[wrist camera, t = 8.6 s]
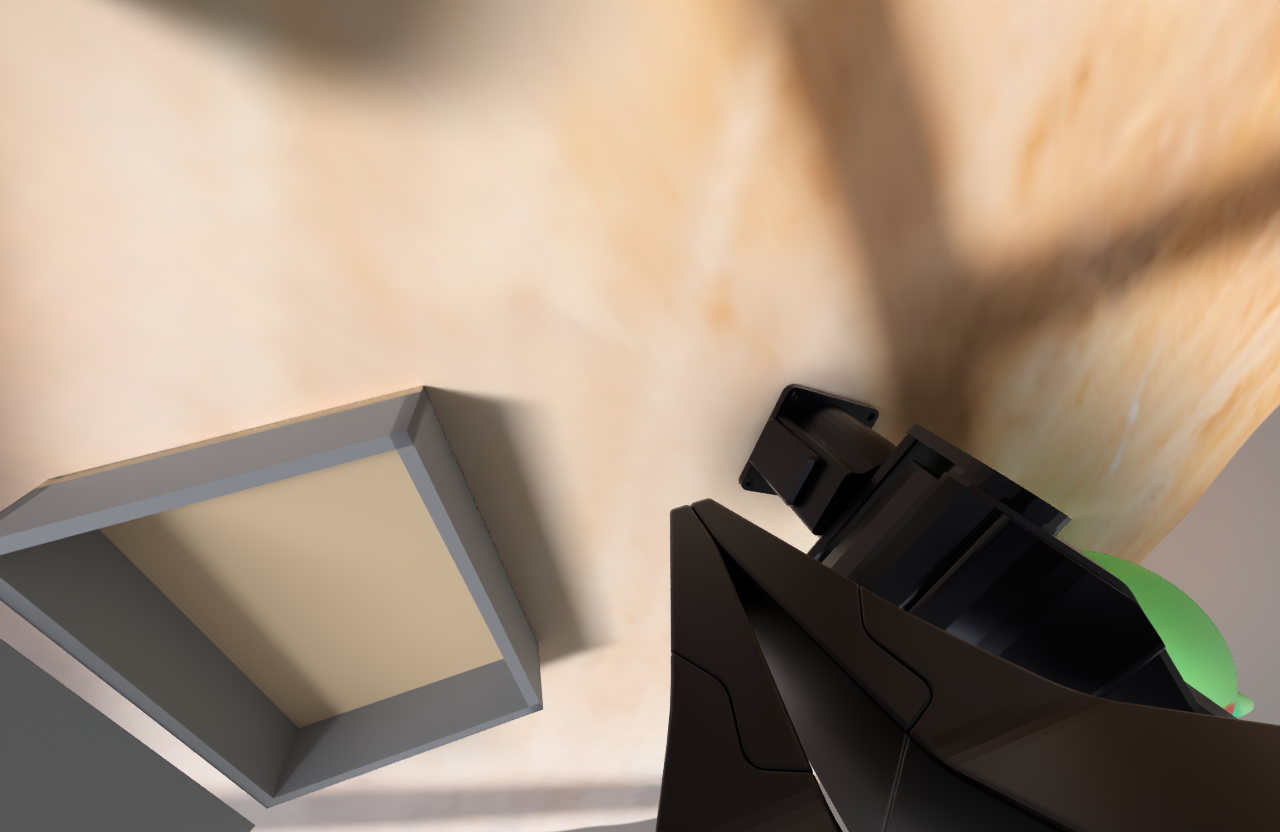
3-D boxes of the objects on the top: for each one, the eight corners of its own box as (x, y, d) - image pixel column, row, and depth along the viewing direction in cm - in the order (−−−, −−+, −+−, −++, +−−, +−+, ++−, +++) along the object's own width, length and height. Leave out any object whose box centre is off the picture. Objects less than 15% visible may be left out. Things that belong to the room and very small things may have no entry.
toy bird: (1050, 473, 34) (1368, 649, 22) (1083, 573, 43) (1326, 741, 30) (854, 621, 37) (1039, 857, 24) (922, 688, 45) (1086, 889, 32)
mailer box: (423, 385, 20) (406, 430, 16) (538, 644, 29) (543, 709, 25) (48, 479, 18) (-61, 552, 14) (297, 726, 27) (267, 808, 23)
